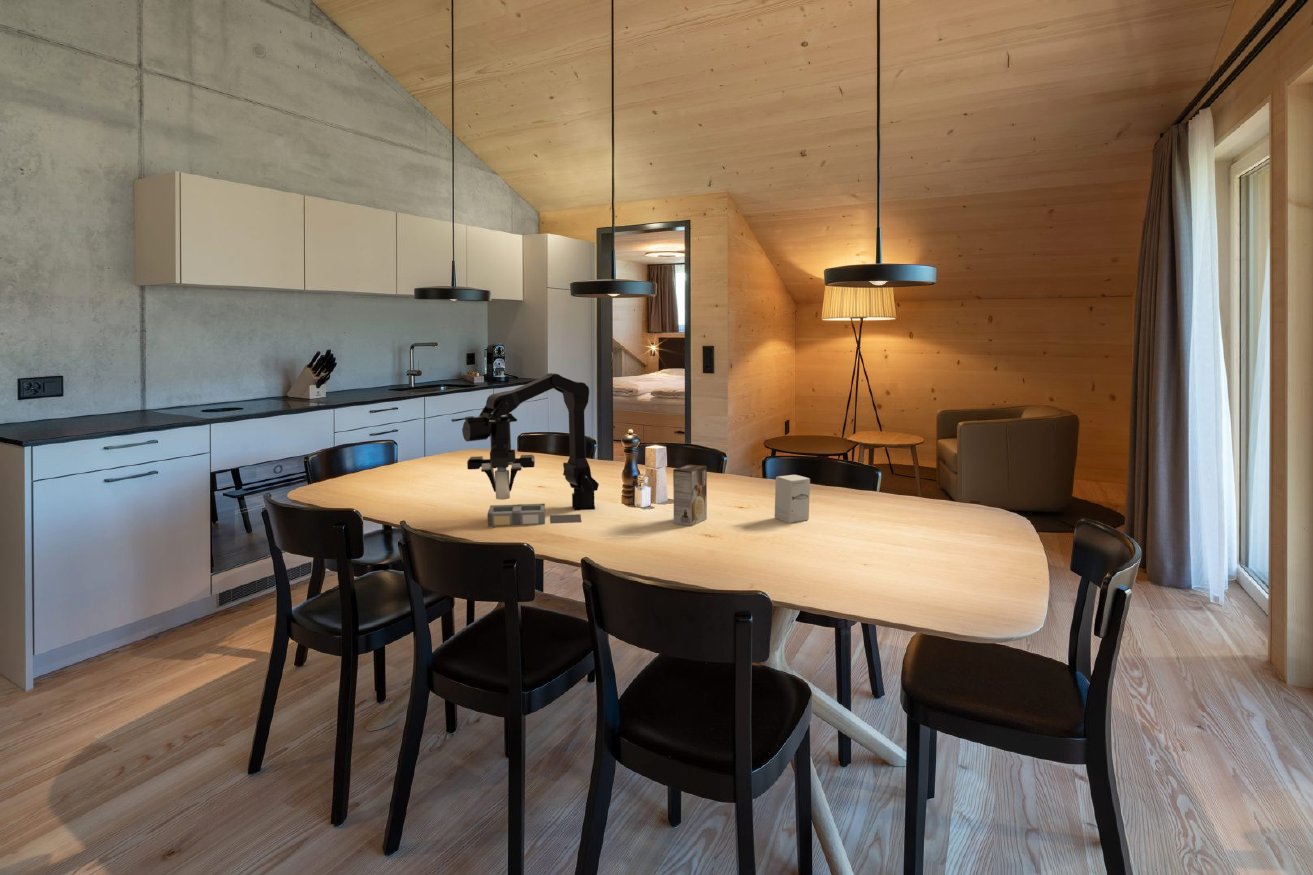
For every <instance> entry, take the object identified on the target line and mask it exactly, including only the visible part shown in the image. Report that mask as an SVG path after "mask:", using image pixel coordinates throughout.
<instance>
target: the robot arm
mask: <svg viewBox="0 0 1313 875" xmlns="http://www.w3.org/2000/svg"><path fill="white" fill-rule="evenodd" d="M552 389H553V390H555V391H557V392H559V393H561V394H562V397H563V401H564V404H565V406H566V409H567V411H568V438H569V440H568V441H569V442H568V444H569V457H568V460H567V462H565V461H564V462H563V463H562V465H563V473H562V475H563V476H564V479H565V480H566V481H567V483H569V486H570V488H571V489H573V492H572V493H571V506H572V508H573V511H591V510H593V511H594V510H596V506H595V492H596V491H598V489H599V485H600V484H599V482H597V481H596V479H594V478H593V476H592V472H591V466H590V464H589V461H588V460H587V457H586V433H585V432H586V431H585V429H586V428H585V426H586V425H585V410H586V408H587V407H588V406H587V405H588V403H589V400H590V399H589V397H590V387H589V386H588V385H587V384H586V383H585V382H581V381H580V382H579V381H574V380H572V379H569V378H566V377H564V376H562V375H561V374H560V373H559V374H558V373H552V372H550V373H547V374H545V375H544V376H542V377H539V378H537V379H535V380H533V381H530V382H528V383H526V384H524V385H522V386H519V387H516V388H514V389H511V390H506V391H499V392H496V393H492V394H489V396H487V398H486V401H485V406H484V408H483V409H482V410H481V412H480V414H479V415H478V416H465V418H464V422H463V426H462V429H461V430H462V431H461V432H462V437H463V438H464V440H465V442H476V441H477V442H478V441H485V440H487V439H488V438H490V439H489V440H490V452H489V458H486V459H485V458H484V456H482V455H481V456H470V457H469V458H468V459H467V461H466V464H467V465H466V466H467V467H466V468H467V470H481V473H485V474H486V476H487V478H488V479H489V481H490V484H491V487H492V489H493V491H494V493H496V487H495V469H497V468H501V467H503V468H506V469H507V468H509V466H511V467H510V473H509V484H510V485H509V490H510V492H511V491H512V488H513V485H514V481H515V478H516V476H517V472H518V471H519V472H520V471H522V468H524V469H525V468H529V469H530V468H534V467H535V465H536V463H535V461H536V459H535V455H533V454H521V455H520V457H516V449H512V440H511V439H512V437H511V435H512V434H511V423H513V422H514V423H515V422H518V418H516V417H515V416H514V415H513V413H512V412H513V411H515V410H516V409H517V408H518V407H519V406H520V405H521V404H522V403H523V402H526V401H528V400H531V399H533V398H535V397H537V396H540V395H541V394H544V393H546V392H548V391H551V390H552ZM480 468H481V469H480Z"/></svg>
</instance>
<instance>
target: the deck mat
mask: <svg viewBox="0 0 1313 875" xmlns="http://www.w3.org/2000/svg"><path fill="white" fill-rule="evenodd" d="M549 516H550V517H549V518H550V519H549V524H572V523H582V514H579V513H578V514H577V513H575V514H553V515H552V514H551V515H549Z"/></svg>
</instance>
